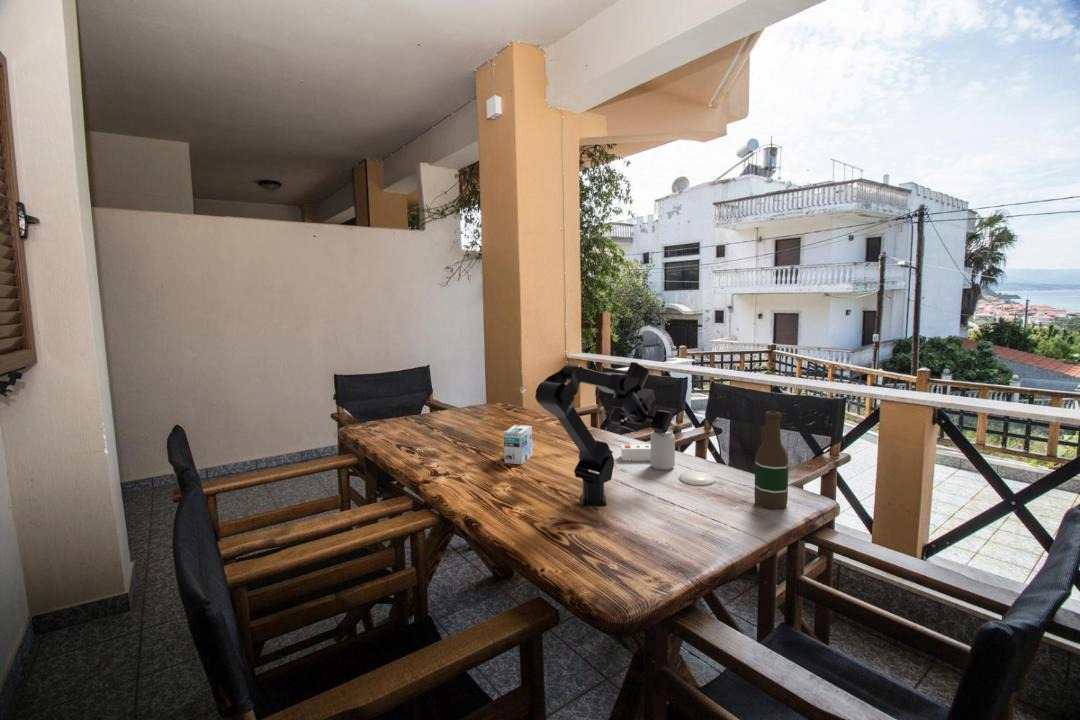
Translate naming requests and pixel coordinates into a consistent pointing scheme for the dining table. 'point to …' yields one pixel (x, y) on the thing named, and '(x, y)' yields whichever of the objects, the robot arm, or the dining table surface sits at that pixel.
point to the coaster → (697, 478)
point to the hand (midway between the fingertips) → (650, 433)
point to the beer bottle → (771, 467)
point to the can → (663, 450)
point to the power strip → (636, 452)
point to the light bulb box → (518, 444)
